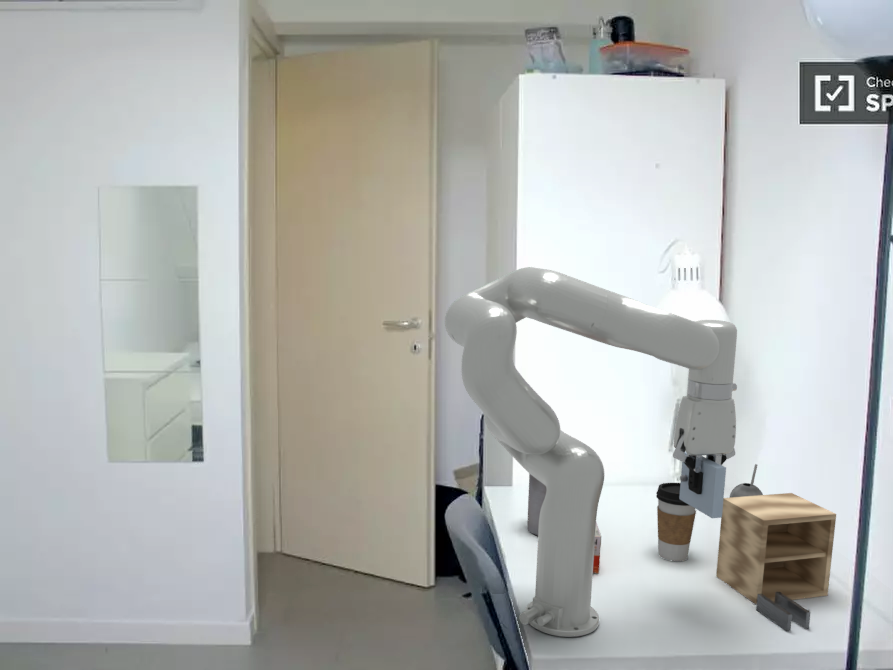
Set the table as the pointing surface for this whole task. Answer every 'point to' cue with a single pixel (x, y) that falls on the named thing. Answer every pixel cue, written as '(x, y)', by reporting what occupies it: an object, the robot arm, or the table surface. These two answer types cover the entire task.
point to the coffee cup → (673, 523)
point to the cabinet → (775, 546)
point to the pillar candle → (535, 503)
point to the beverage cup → (746, 488)
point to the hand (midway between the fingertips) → (701, 490)
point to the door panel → (705, 488)
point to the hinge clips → (783, 611)
